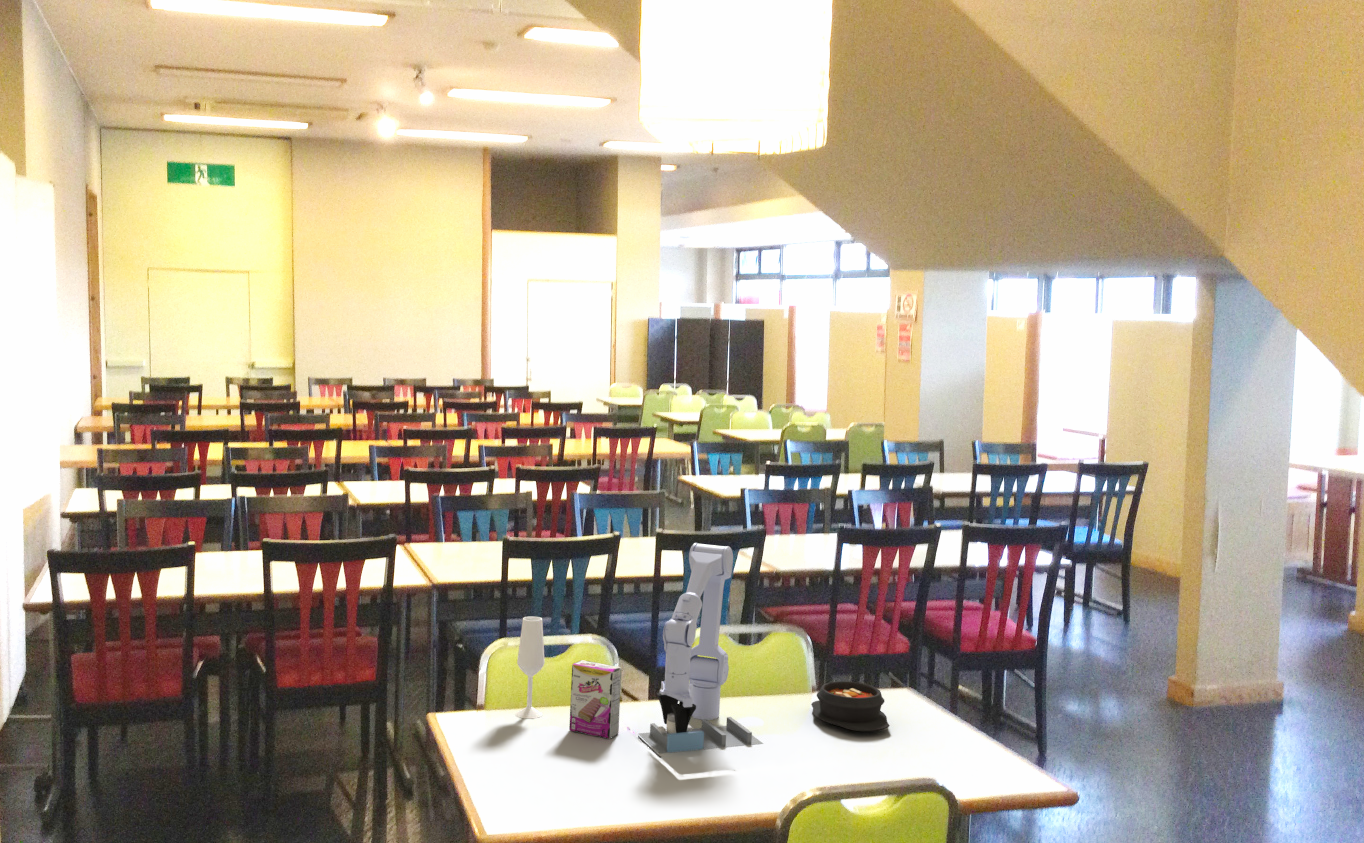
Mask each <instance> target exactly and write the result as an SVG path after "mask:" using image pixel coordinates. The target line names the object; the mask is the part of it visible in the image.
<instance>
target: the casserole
mask: <svg viewBox="0 0 1364 843" xmlns="http://www.w3.org/2000/svg"><path fill="white" fill-rule="evenodd" d="M816 697H817V699H818V700H814V701H813V702H812V703H811V707H812V714H813V716H815V717H816V718H817V719H819V720H821V721H823V722H825V723H828V724H830V725H833V726H835V727H836V726H837V727H839V728H844V729H846V730H849V731H855V732H874V731H882V730H885V729H888V728H890V724H889V722H888V717H887V715H886V714H885V712H883V711H881V709H882V706H883V705H884V703H885V698H884V697H883V695H882V692H881V690H880V689H878V687H875V686H873V685H869V684H866V683H862V682H854V681H831V682H827V683H824V684H822V685H821V687H820V690H819V691H818V692H817V693H816Z"/></svg>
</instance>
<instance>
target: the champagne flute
mask: <svg viewBox="0 0 1364 843" xmlns="http://www.w3.org/2000/svg"><path fill="white" fill-rule="evenodd" d="M543 626H544V625H543V618H542V617H540V616H524V617H522V622H521V630H520V639H519V644H518V645H519V647H518V652H517V660H516V661H517V662H516V663H517V666H518V668H519V669H520V670H521V672H522V673H524V675H526V676H527V694H526V697H527V698H526V707H524V708H522V709H521V710H518V711H516V712H515V716H516V717H517V718H521V719H530V720H531V719H537V718H540V717H542V716H543V712H541V711H539V710H538V709H536V708H535V707H534V706H533V705H532V704H533V684H534V683H533V678H534V676H535V675H537V674H538V673H539V672H540V671H541V670H542V669H543V667H544V665H545V661H546V660H545V647H544V643H545V642H544V627H543Z"/></svg>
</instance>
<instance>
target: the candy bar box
mask: <svg viewBox="0 0 1364 843" xmlns="http://www.w3.org/2000/svg"><path fill="white" fill-rule="evenodd" d="M570 683H571V687H570V707H569V708H570V709H569V731H570V732H575V733H580V734H583V735H589V736H594V737H599V738H604V739H607V738H608V739H607V740H610V739H612V738H613V737H615V736H617V735H618V734H619V728H620V709H621V706H620V705H621V683H622V667H620V666H616V665H610V664H605V663H599V662H595V661H590V660H583V659H580V660H579V661H576V662H574V663H573V664H571V681H570ZM611 737H612V738H611ZM609 738H610V739H609Z"/></svg>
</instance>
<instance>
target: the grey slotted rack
mask: <svg viewBox="0 0 1364 843" xmlns="http://www.w3.org/2000/svg"><path fill="white" fill-rule="evenodd" d="M666 729H667V728H665V727H664V726H663V725H662V726H659V725H657V724H656V723H655V722H653V723H650V726H649V732H642V733H641V732H639V733H638V735H637V738H638V739H639V740H640V741H641V742H642V743H643V744H644V745H645V746H646V747H647V748H648V747H649V748H648V749H649V750H651V751H652V752H653V753H654V754H655V756H657V757H658V758H661V757H662V756H661V755H660V754H669V753H678V752H679V753H680V752H691V751H700V750H711V749H720V748H721V749H723V748H732V747H742V746H745V747H746V746H755V745H762V744H764V743H763V742H762V741H760V740H759V739H758V738H757V737H755V736H754V735H753V733H752V731H751V730H750V729H748V728H746V727H745V726H744V725H742V724H741V723H739V722H738V721H737V720H736V719H735V718H733V717H732V716H726V725H722V726H721V725H720V726H719V725H717V726H715V725H714V724H713V723H712V722H710V720H706V719H702V720H701V727H697V728H693V726H692V725H690V723H689V724H688V728H687V731H686V732H682V733H671V734H666ZM661 759H662V758H661Z"/></svg>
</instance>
